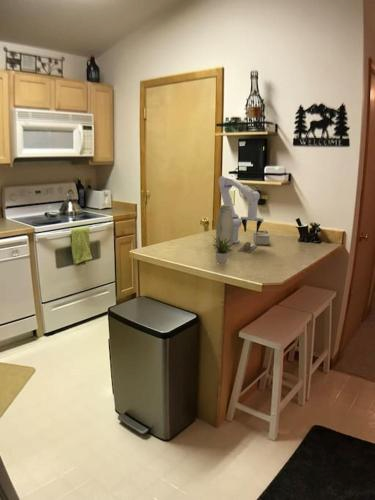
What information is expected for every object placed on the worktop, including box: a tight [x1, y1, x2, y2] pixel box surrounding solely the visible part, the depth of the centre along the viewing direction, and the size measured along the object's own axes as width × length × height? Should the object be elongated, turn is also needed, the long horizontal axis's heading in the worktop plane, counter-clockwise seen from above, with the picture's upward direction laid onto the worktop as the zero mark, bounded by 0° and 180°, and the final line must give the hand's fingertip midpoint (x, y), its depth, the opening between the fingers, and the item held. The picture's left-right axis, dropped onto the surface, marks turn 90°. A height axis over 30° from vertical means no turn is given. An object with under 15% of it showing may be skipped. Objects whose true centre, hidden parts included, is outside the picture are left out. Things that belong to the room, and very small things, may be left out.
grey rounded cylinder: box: [215, 204, 233, 249], centre depth 246 cm, size 10×10×28 cm
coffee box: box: [253, 229, 270, 246], centre depth 270 cm, size 9×6×16 cm
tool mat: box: [237, 244, 258, 254], centre depth 253 cm, size 8×19×1 cm, turn 159°
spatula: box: [243, 241, 255, 251], centre depth 253 cm, size 14×5×4 cm, turn 159°
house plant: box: [210, 235, 234, 265], centre depth 218 cm, size 14×14×16 cm
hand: (251, 231), depth 257 cm, fingers open, 7 cm apart
